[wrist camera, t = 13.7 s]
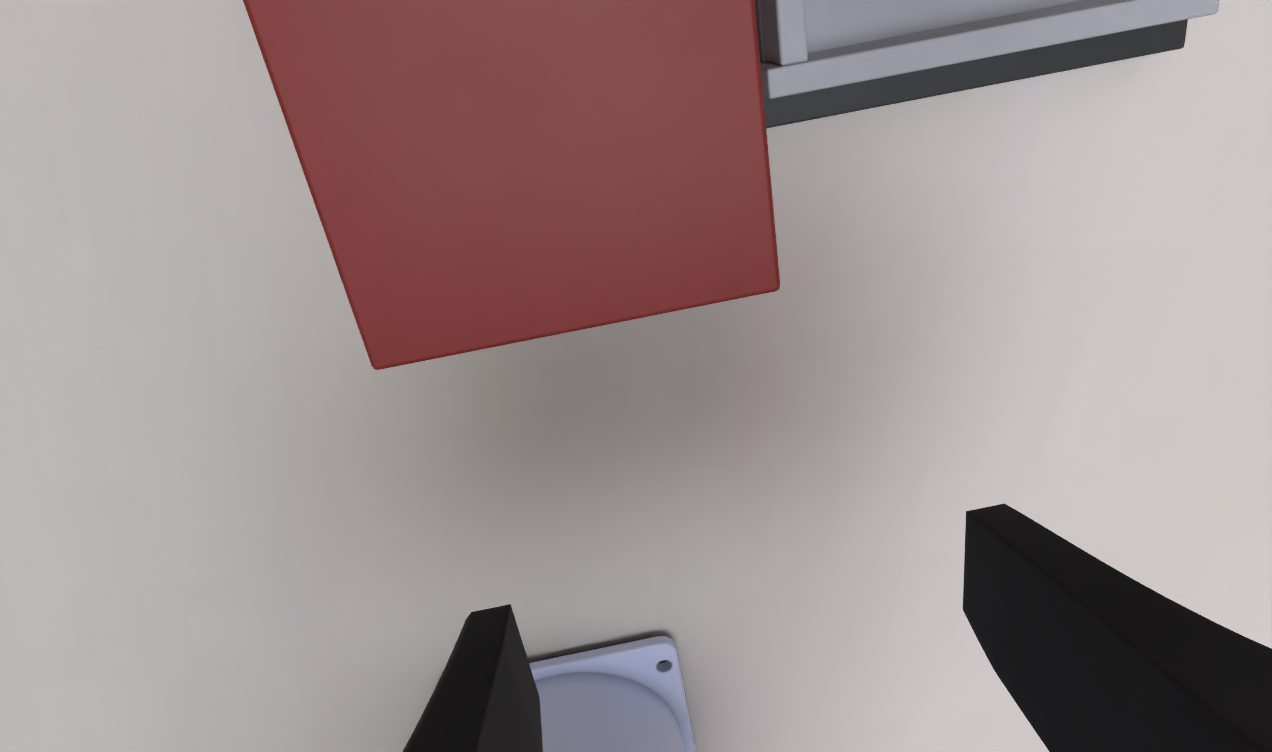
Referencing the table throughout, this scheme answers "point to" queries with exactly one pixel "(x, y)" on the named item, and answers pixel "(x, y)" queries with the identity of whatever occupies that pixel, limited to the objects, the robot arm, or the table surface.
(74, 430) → the table surface
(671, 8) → the coffee maker
